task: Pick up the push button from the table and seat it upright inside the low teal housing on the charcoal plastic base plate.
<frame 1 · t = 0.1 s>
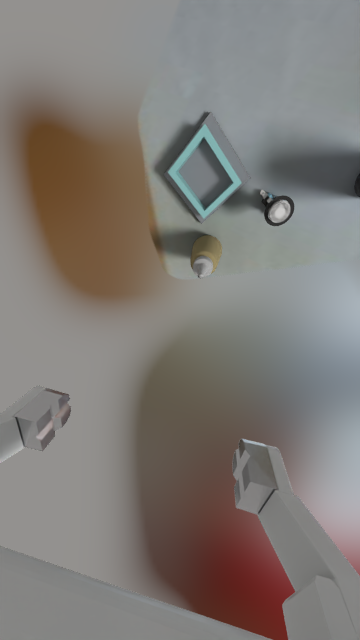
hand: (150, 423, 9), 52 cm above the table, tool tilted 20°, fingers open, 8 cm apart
squeeze bottle: (208, 245, 54), on the table
socket plate: (206, 175, 44), on the table
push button: (270, 200, 44), on the table
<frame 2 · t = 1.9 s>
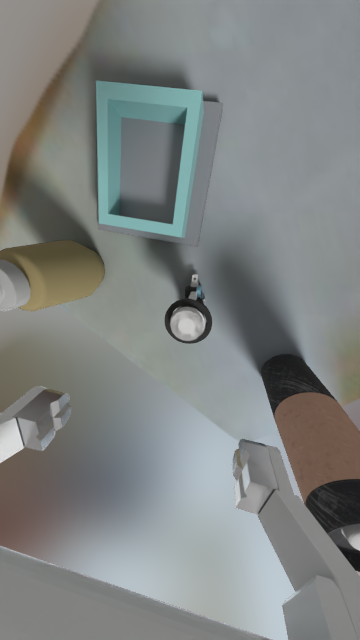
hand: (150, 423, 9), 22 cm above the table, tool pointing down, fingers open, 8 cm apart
squeeze bottle: (89, 267, 30), on the table
travel mug: (283, 371, 32), on the table
socket plate: (154, 178, 24), on the table
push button: (195, 295, 29), on the table
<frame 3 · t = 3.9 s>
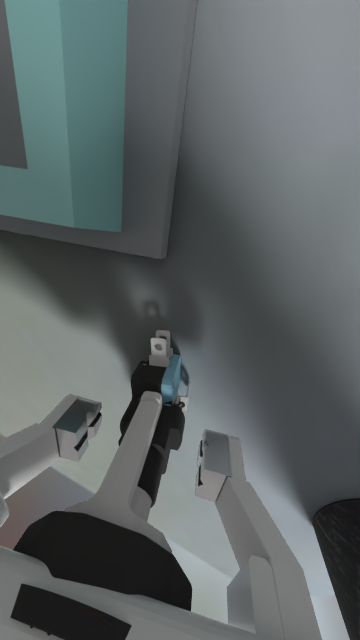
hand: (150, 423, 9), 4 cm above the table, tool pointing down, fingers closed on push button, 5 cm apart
socket plate: (9, 30, 7), on the table
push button: (168, 371, 12), on the table, touching gripper
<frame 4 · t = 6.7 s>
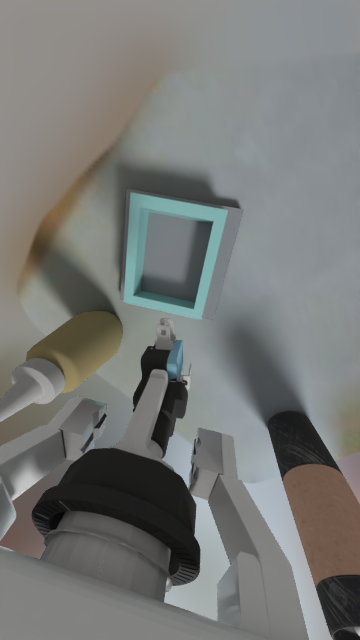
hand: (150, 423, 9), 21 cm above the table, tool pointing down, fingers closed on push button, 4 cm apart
squeeze bottle: (107, 326, 32), on the table
travel mug: (288, 425, 34), on the table
socket plate: (175, 259, 26), on the table
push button: (172, 356, 14), point 15 cm above the table, touching gripper
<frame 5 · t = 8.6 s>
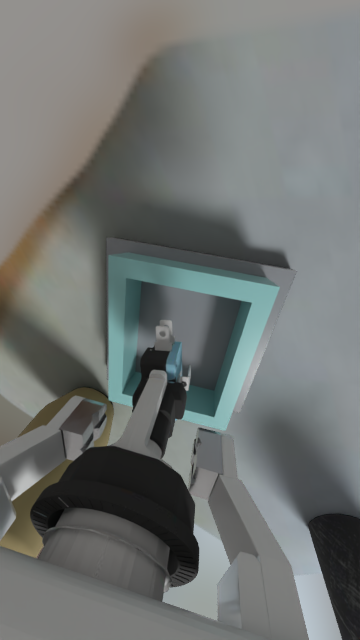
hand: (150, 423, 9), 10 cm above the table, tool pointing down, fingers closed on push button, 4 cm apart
squeeze bottle: (93, 403, 24), on the table
travel mug: (337, 526, 25), on the table
socket plate: (184, 331, 18), on the table
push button: (171, 358, 14), point 4 cm above the table, touching gripper
when the fingers open (6 cm above the table, at t = 9.5 s): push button stays where it is, resting on socket plate.
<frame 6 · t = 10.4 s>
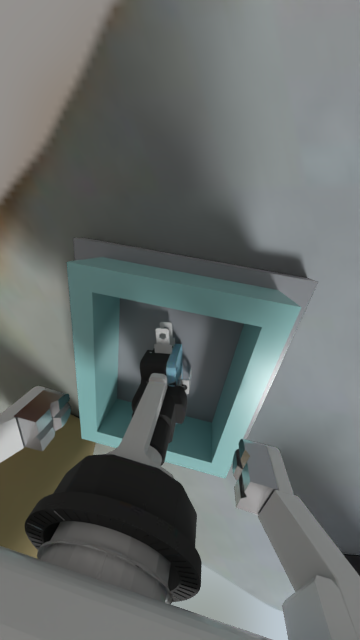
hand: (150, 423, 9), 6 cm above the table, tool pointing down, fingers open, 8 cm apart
squeeze bottle: (73, 429, 21), on the table
socket plate: (174, 351, 14), on the table
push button: (171, 360, 14), point 1 cm above the table, touching socket plate
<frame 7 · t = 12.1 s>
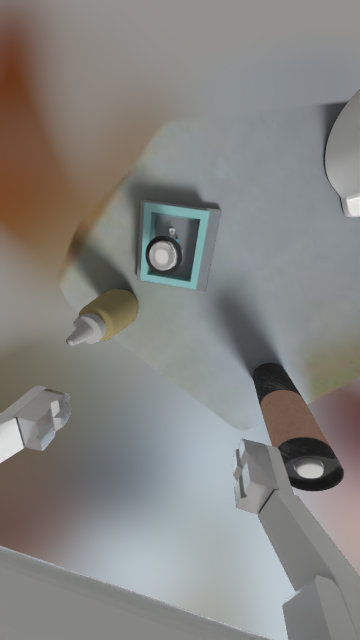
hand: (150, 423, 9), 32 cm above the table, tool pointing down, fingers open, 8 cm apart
squeeze bottle: (126, 302, 42), on the table
travel mug: (268, 375, 43), on the table
socket plate: (176, 248, 36), on the table
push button: (174, 249, 35), point 1 cm above the table, touching socket plate
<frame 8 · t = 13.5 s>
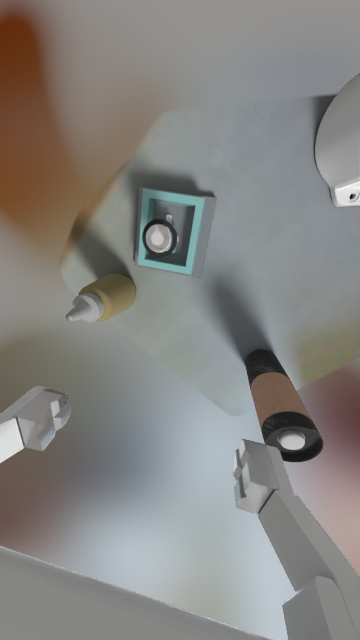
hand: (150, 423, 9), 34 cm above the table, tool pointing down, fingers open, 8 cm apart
squeeze bottle: (124, 288, 43), on the table
travel mug: (260, 361, 45), on the table
socket plate: (172, 235, 37), on the table
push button: (171, 235, 36), point 1 cm above the table, touching socket plate
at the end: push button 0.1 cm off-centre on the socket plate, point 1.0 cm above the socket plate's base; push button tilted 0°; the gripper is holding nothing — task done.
